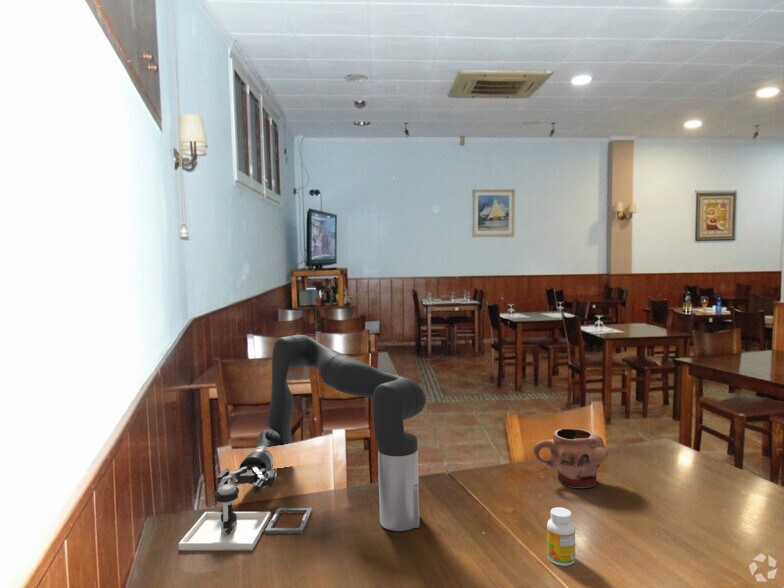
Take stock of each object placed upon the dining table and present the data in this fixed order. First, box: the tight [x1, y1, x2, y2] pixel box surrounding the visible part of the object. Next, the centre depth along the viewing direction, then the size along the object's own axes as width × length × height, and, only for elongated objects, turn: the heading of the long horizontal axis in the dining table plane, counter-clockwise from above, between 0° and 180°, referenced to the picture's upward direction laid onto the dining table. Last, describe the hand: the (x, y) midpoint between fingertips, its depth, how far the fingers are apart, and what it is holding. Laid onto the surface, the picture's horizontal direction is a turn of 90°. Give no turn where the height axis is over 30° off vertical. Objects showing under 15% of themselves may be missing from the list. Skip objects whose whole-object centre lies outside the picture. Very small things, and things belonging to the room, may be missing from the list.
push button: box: [214, 484, 240, 537], centre depth 115 cm, size 7×5×10 cm
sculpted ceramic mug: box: [533, 428, 610, 489], centre depth 137 cm, size 20×12×14 cm, turn 95°
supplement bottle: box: [546, 506, 576, 567], centre depth 102 cm, size 5×5×10 cm
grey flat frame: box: [264, 507, 313, 535], centre depth 120 cm, size 9×11×1 cm
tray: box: [178, 511, 272, 551], centre depth 115 cm, size 16×14×2 cm
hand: (237, 490), depth 122 cm, fingers open, 8 cm apart
